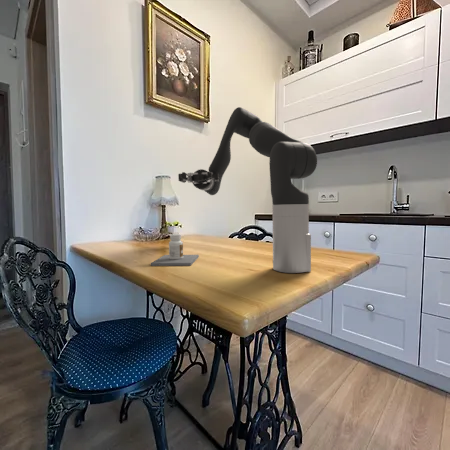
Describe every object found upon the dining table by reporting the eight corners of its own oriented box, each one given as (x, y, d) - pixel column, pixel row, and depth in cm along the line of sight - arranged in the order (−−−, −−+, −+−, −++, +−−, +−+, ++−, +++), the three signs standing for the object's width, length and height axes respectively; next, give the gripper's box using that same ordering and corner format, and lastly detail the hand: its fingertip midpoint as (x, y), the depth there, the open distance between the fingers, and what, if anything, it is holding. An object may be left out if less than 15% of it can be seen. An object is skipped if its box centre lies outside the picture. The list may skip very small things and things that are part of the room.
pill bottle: (184, 259, 82) (183, 234, 81) (170, 260, 80) (169, 235, 80) (182, 256, 86) (181, 233, 85) (168, 257, 84) (168, 234, 84)
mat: (198, 256, 89) (198, 254, 89) (190, 265, 76) (190, 263, 75) (164, 257, 90) (164, 254, 90) (150, 265, 76) (150, 263, 76)
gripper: (185, 171, 102) (174, 164, 86) (220, 170, 101) (216, 163, 85) (185, 190, 103) (175, 186, 87) (221, 189, 102) (217, 185, 86)
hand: (195, 175), depth 86 cm, fingers open, 8 cm apart
